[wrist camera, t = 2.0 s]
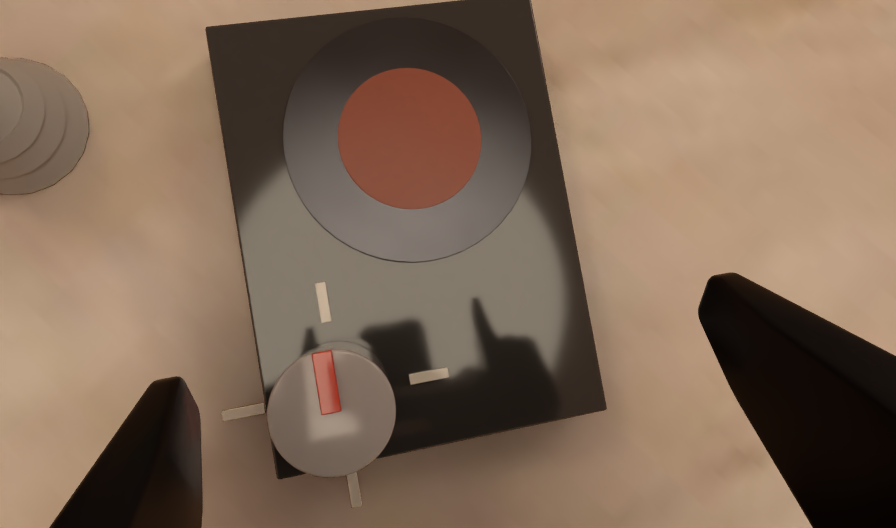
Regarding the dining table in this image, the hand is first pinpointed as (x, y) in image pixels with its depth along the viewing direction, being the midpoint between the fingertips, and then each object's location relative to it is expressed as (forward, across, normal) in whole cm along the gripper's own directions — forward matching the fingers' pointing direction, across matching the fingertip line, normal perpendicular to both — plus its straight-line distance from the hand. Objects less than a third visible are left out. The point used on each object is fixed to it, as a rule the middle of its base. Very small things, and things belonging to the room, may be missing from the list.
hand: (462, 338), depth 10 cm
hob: (+12, -1, +7) cm, 14 cm away
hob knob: (+7, +3, +9) cm, 12 cm away
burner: (+13, -1, +3) cm, 13 cm away
